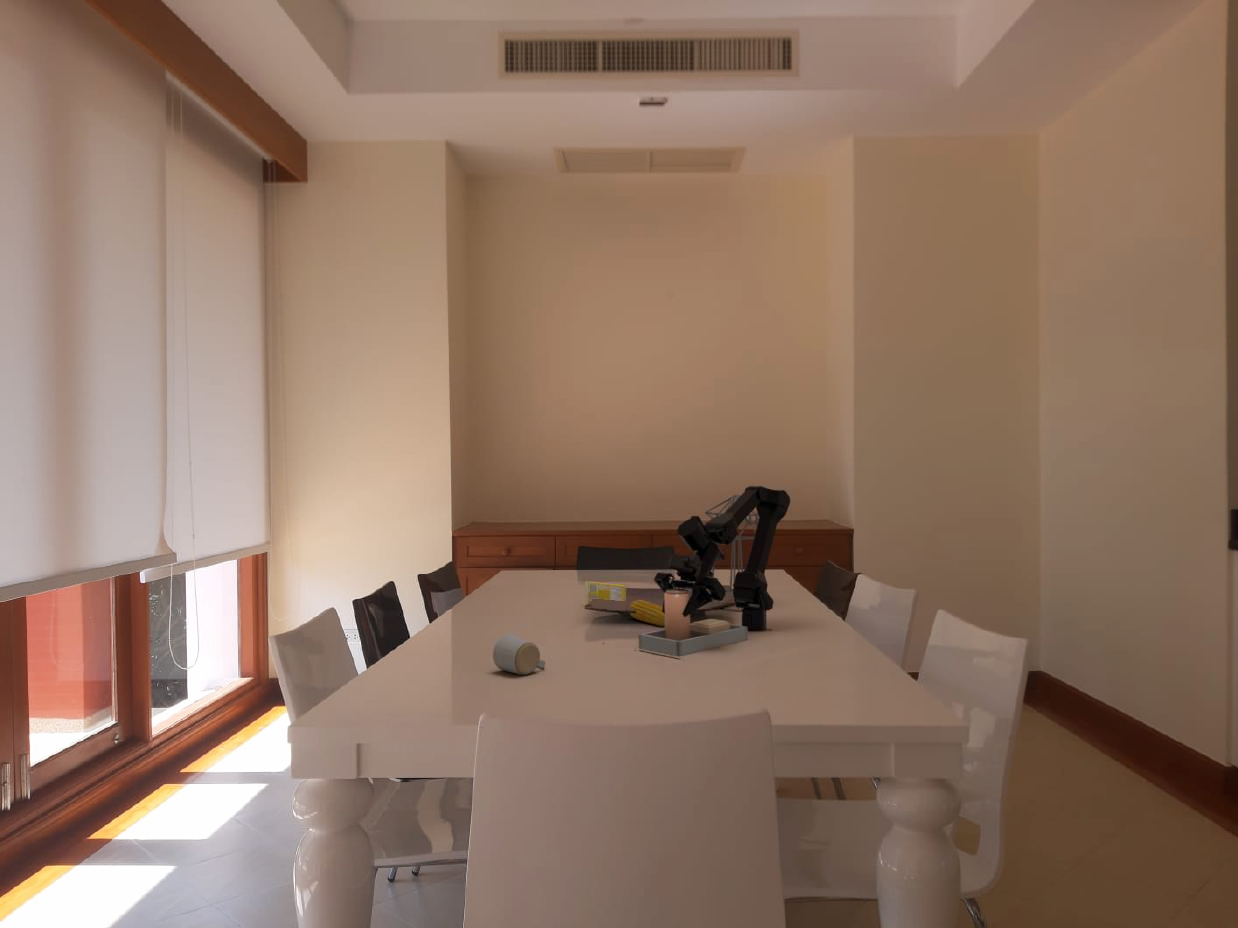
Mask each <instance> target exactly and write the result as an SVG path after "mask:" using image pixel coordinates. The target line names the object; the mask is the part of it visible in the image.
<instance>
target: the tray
mask: <svg viewBox="0 0 1238 928" xmlns="http://www.w3.org/2000/svg"><path fill="white" fill-rule="evenodd" d="M691 624H693V622H692V623H690V625H691ZM748 632H749V631H747V627H745V626H742V625H738V624H732V623H730V630H726V631H722V632H717V633H708V632H702V631H696V630H690V639H686V640H681V641H676V640H671V639H665V628H664V629H663V628H662V629H660V630H659V629H658V630H653V631H649V632H645V633H644V632H643V633H638V649H639V650H638V652H641V653H646V654H651V655H655V656H661V657H665V658H669V659H674V660H679V661H680V660H681V658H678V657H681V656H687V655H690V654H695V653H699V652H703V651H708V650H712V649H716V648H719V647H724V646H728V645H733V644H737V643H741V642H745V641H748V639H749V638H748V637H749V635H748ZM640 649H643V650H640ZM645 650H646V651H645ZM655 652H657V653H655ZM664 654H665V655H664ZM671 655H672V656H671ZM674 656H676V657H674Z"/></svg>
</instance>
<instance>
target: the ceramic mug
mask: <svg viewBox="0 0 1238 928" xmlns="http://www.w3.org/2000/svg"><path fill="white" fill-rule="evenodd" d="M492 650H493V651H492V652H493V653H492V659H493V662H494V665H495V666H496V667H497V668H498V669H499V670H502V671H505V672H508V673H513V674H517V675H519V676H520V675H523V676H526V675H530V674H533V672H534V671H535V670H536V669H537V668H539V669H540V668H541V669H545V666H546V661H544V660H543V659H541V653H540V649H539V647H538V646H537V645H536V644H535V643H534V642H532V641H531V640H527V639H524V638H522V637H518V636H516V635H514V634H505V635H503V636H501V637H500V638H499V639H498V640H497V641H496V643H495V645H494V648H493V649H492Z"/></svg>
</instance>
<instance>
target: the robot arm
mask: <svg viewBox="0 0 1238 928" xmlns="http://www.w3.org/2000/svg"><path fill="white" fill-rule="evenodd" d="M732 503H733V502H732ZM732 503H731V505H730V507H729V509H728V510H727V511H726V512H725V511H724V512H725V513H724V512H722V513H723V514H722V515H718V516H717V517H716V516H715V517H714V516H713V517H714V518H712V519H711V518H710V520H708V521H707V522H705V524H704V523H703V522H702V518H700V516H699V515H691V517H690V518H688V519H687V520H685V521H683V522H682V523H681V524H679V525H678V528H677V531H676V532H677V534H678V536H679V537H680V539H682V541H683V542H684V544H685V545H686V547H687V548H688V549H689V550H690V551H692V552H693V553H691V554H689V555H683V554H671V556H670V559H669V563H668V567H667V568H669V569H673V570H675V571H676V573H675V574H676V575H677V577H680V578H679V579H678V578H677V579H676V577H674V575H673V574H672V573H670V572H664V571H663V572H662V571H661V572H657V573H656V575H655V577H654V578H653V581H654V583H655V584H656V585H657V586H658V587H659V588H660V590H661V591H662V593H665V592H666V590H668V589H686V590H688V591H691V594H690V599H689V601H688V603H687V605H686V607H685V609H684V611H683V616H684V617H686V616H688V615H689V614H690V615H692V613H694V612H695V611H697V610H699V609H700V608H702V607H703V606H705V605H707V604H709V603H713V602H714V601H718V602H719V601H722V600H725V597H726V596H725V595H727V593H726V591H725V590H726V588H725V587H724V586H723V584H722V583H721V582H720V581H719V578H717V577H714V578H712V576H713V573H712V568H713V566H714V567H715V565H716V562H717V561H718V560H719V561H725V557H726V556H725V553H724V549H722V548H720V547H719V546H718V545H723V546H724V545H725V546H727V545H732V542H733V540H734V539H735V537H736V536H738V535H739V527H740V525H741V524H742V523H743V522H744V521H745V520H744V519H745V518H748V517H749V516H748V515H749V514H752V513H753V512H752V511H754V510H755V509H756V513H758V518H759V521H758V525H757V527H756V528H755V531H756V533H755V532H754V533H755V534H754V536H753V537H754V539H752V544H751V548H750V553H749V554H748V555H749V556H748V560H747V564H746V566H745V568H744V569H743V572H741V571H740V572H738V571H737V572H736V573H735V582H734V581H733V583H732V587H733V588H732V590H733V591H732V595H733V596H734V597H733V599H734V600H733V601H734V603H735V604H736V606H735V608H737V609H738V608H739V609H740V608H743V609H742V611H741V626H745V627H747V632H761V631H769V632H771V631H772V628H767V611H771V610H773V607H774V606H773V605H774V599H773V598H772V596H771V595H770V594H769V592H768V581H767V579H766V575H765V573H766V572H765V571H766V568H767V564H768V561H769V557H770V553H771V549H772V547H773V546H772V545H773V541H774V536H775V534H776V530H777V525H778V524H779V523H780V522H781V521H782V519H784V517H786V515H787V512H788V510H789V507H790V505H791V498H790V495H789V494H788V493H787V491H786V490H785V489H780V490H779V489H773V488H772V489H771V488H767V487H765V486H762V485H748V486H747V487H745V489H744V492H743V493H742V494H741V496H740V497H739V498H738V499H737V500H736V501H735V500H734V503H733V504H732ZM662 607H663V609H662V612H663V613H664V614H665V600H664V599H663V602H662Z"/></svg>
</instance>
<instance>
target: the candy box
mask: <svg viewBox="0 0 1238 928" xmlns="http://www.w3.org/2000/svg"><path fill="white" fill-rule="evenodd" d="M584 584H585V585H584V593H585V594H584V606H585V605H586V604H588V603H589V602H591V601H592V599H604V600H615V601H626V602H627V595H626V594H627V585H626V584H625V585H624V584H616V583H605V582H599V581H598V582H597V581H590V580H589V581H585V583H584Z"/></svg>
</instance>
